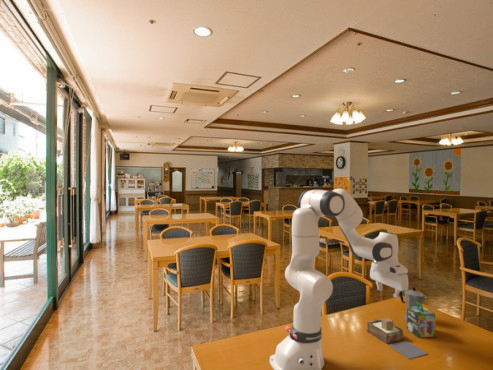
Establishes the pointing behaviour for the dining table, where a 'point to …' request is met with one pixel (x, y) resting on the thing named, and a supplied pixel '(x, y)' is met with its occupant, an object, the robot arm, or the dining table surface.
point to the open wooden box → (383, 335)
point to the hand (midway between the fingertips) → (387, 293)
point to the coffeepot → (412, 298)
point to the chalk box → (421, 321)
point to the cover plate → (379, 324)
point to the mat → (408, 349)
